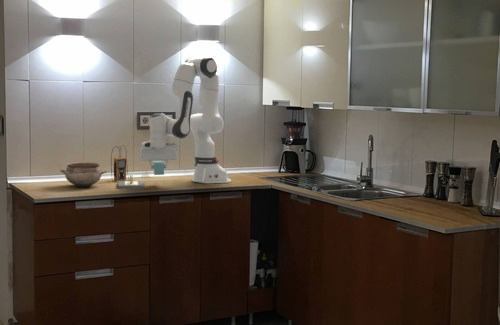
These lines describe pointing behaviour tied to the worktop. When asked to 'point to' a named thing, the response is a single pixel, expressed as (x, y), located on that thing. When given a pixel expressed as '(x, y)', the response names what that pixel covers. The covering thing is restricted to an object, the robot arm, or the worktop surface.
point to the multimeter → (119, 167)
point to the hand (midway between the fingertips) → (158, 168)
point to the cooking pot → (83, 173)
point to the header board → (131, 184)
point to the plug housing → (158, 167)
